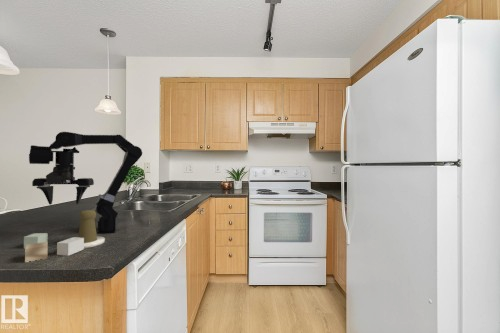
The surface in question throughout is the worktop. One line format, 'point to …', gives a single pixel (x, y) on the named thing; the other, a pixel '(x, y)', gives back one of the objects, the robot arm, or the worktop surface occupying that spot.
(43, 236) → the sage block
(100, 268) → the worktop surface
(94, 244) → the cream plate
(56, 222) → the worktop surface
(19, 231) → the worktop surface
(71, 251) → the grey block
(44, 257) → the beech block
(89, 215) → the cork
